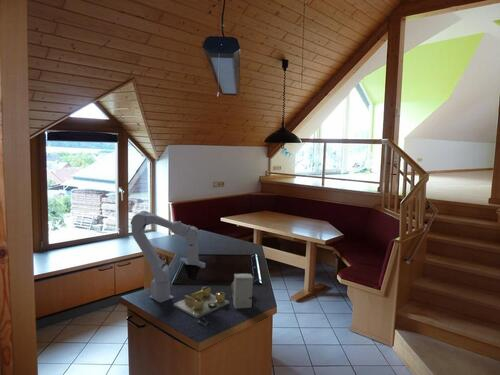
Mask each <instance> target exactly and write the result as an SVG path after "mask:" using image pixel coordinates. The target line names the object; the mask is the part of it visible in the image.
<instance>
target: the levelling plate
mask: <svg viewBox="0 0 500 375" xmlns="http://www.w3.org/2000/svg"><path fill="white" fill-rule="evenodd" d="M201 299H203V309H201V310H195V309H193V306H191V305H189V304H187V303H185V300H184V299H182V300H180V301H177V302H174V303H172V307H174V309H175V308H176V309H177V310H180V311H182V312H184V313H186V314H188V315H189V316H191V317H194V318H195V319H199V318H201V317H203V316H205V315H208V314H210V313H212V312H214V311H216V310H219V309H221V308H223V307H225V306H227V305H230V300H227V299H226V293H225V292H224V291H217V292H216V293H215V294H212V293H210V296H209V297H202V298H201Z"/></svg>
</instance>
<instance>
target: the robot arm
mask: <svg viewBox="0 0 500 375" xmlns="http://www.w3.org/2000/svg"><path fill="white" fill-rule="evenodd" d="M149 225H157V226H160V227H164V228H166V229H169V230H170V232H171V233H173V234H175V235H178V236H180V237H184V238H185V239H186V242H185V243H186V244H185V246H186V247H185V250H186V251H185V254H186V255H185V257H181V258H179V264H181V263H183V264H184V265H183V268H184V270H185V272H186V276H187V278H188V280H192V281H196V280H197V277H198V273H199V271H200V269H204V268H206V262H203V261H200V260H199V237H198V236H199V234H200V230H199V229H198V228H197V227H196V226H194V225H190V224H188V225H187V224H185V223H182V221H180V220H179V221H170V220H168V219H166V218H163V217H162V216H159V215H157V214H154V213H153V212H150V211H149V212H148V211H147V210H142V211H139V213H136V214H134V216H133V217H132V218H131V221H130V226H131V235H132V238H133V239H134V240H135V243H136V244H137V246H138V247H139V248H140V251H141V252H142V253H143V256H144V257H145V259H147V261H148V263H149V265H150V269H151V273H152V275H153V277H152V278H153V279H152V280H151V282H150V295H149V298H151V299H152V300H155V301H156V302H158V303H163V302H166V301H169V300H171V299H174V296H173V295H171V279H170V275H171V267H170V266H169V265H168V264H166V263H165V261H164V260H162V259H161V258H160V256H159V255H158V252H157V251H156V250H155V248H154V246H153V245H152V242H151V241H150V239H149V238H148V237H147V235H146V234H145V230H146V226H149Z"/></svg>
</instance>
